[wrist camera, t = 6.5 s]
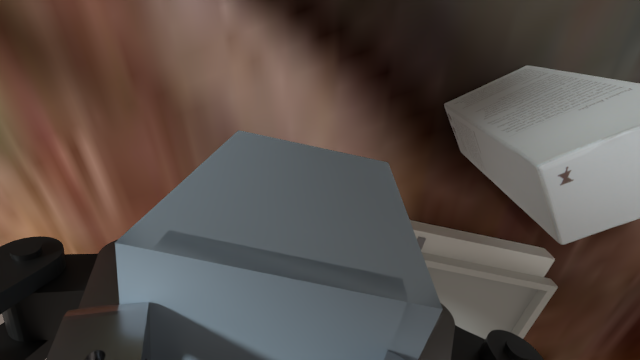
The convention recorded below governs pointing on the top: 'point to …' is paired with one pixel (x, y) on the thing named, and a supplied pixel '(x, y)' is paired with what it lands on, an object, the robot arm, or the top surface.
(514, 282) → the board
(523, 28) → the top surface
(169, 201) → the blue-grey block
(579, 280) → the top surface
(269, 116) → the top surface
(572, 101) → the skincare box
